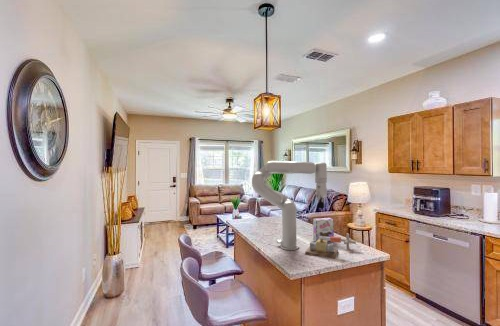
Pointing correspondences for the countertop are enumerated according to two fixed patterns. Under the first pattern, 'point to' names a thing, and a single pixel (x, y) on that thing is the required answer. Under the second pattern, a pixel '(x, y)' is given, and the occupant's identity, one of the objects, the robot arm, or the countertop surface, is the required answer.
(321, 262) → the countertop surface
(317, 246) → the ball valve
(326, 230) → the candy box
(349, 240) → the beige crossed-rod piece
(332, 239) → the lever
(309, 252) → the board
